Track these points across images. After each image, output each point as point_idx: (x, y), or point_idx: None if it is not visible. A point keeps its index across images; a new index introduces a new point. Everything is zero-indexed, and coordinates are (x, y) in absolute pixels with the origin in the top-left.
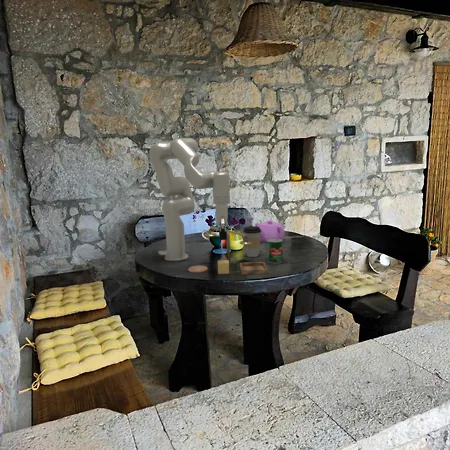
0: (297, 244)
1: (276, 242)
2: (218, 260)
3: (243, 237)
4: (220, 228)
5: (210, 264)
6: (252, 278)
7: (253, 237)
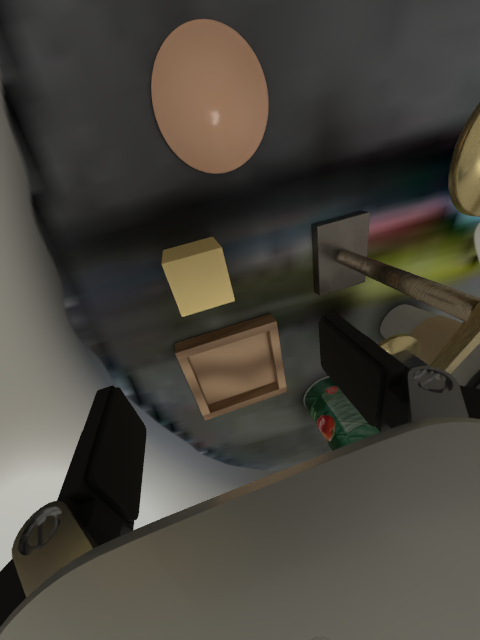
0: None
1: None
2: (222, 252)
3: None
4: (27, 580)
5: (305, 170)
6: (143, 384)
7: None
